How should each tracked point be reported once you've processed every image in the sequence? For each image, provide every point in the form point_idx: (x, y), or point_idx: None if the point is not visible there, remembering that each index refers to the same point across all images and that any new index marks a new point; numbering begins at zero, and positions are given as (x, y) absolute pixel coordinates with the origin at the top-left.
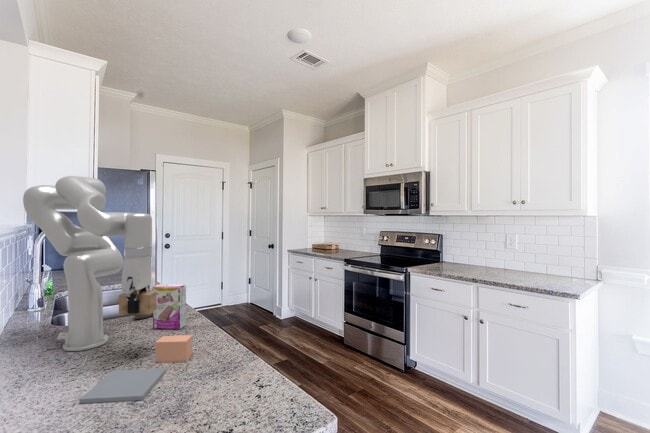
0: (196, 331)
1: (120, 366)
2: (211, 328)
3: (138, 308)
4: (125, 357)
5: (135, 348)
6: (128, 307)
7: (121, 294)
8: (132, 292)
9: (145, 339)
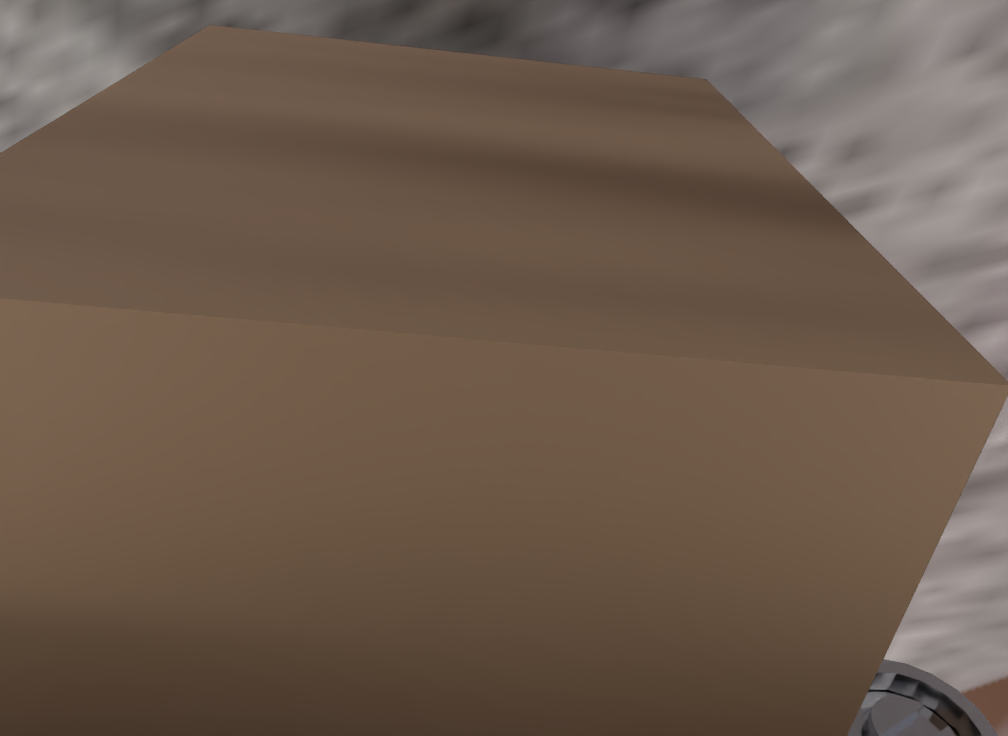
0: (942, 566)
1: (107, 57)
2: (962, 668)
3: None
4: (366, 20)
5: (644, 48)
6: None
7: (86, 356)
8: (575, 728)
9: (946, 79)
